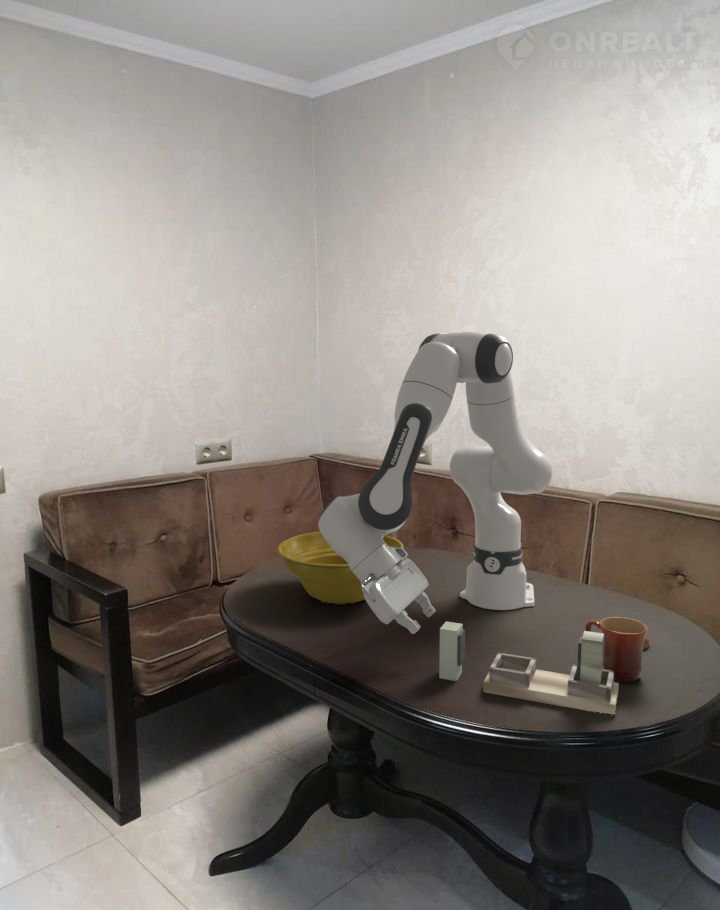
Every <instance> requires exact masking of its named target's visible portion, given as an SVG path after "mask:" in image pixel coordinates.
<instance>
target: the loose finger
mask: <svg viewBox="0 0 720 910" xmlns="http://www.w3.org/2000/svg"><path fill="white" fill-rule="evenodd" d="M463 626H464V624H463V623H458V622H453V621H445V622H444V623H443V624H442V626H440V628H439V667H438V669H439V671H438V673H439V675H438V676H439V679H442V680H446V681H447V680H448V681H453V682H457V681H458V680H459V678H460V676H461V675H462V673H463V662H464V661H465V659H466V658H465V657H466V655H465V654H466V653H465V652H466V629H464V628H463Z"/></svg>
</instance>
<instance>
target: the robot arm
mask: <svg viewBox="0 0 720 910" xmlns="http://www.w3.org/2000/svg"><path fill="white" fill-rule="evenodd" d="M513 361H514V352H513V349H512V346H511V344H510V343H509V342H508V340H507V338H505V337H504V336H502V335H498V334H495V333H480V332H474V331H462V332H448V333H443V332H437V333H433V334H431V335H428V336H426V337H425V338H424V339H423V340H422V342H421V343H420V345H419V347H418V350H417V352H416V354H415V355H414V357H413V358H412V360H411V362H410V365H409V366H408V368H407V370H406V373H405V375H404V377H403V380H402V382H401V385H400V387H399V390H398V393H397V397H396V403H395V409H394V428H393V433H392V435H391V439H390V441H389V444H388V447H387V449H386V452H385V454H384V457H383V459H382V461H381V464H380V467H379V469H378V471H377V472H375V474H374V475H373V476H372V477H371V478H370V479H369V480H368V481H366V483H365V485H364V486H363V487H362V489H361V490H360V492H359V493H356V494H353V495H346V496H337V497H335V498H333V499H331V501H330V502H329V503H328V504H327V505H326V506H325V507H324V508H323V511H321V513H320V515H319V518H318V529H319V532H321V533H322V535H323V537H324V538H325V539H326V541H327V542H328V544H329V545H330V546H331V547H332V549H333V550H334V551H335V552H336V553H337V554H338V555H339V556H340V557H341V558H343V559H344V560H345V561H346V562H347V563H348V565H349V567H350V570H351V571H352V572H353V573H354V574H355V576H356V577H357V578H358V579H359V580H360V582H361V587H362V591H363V593H364V598H365V599H364V600H365V601H366V604H367V605H368V607H369V608H370V609H371V610H372V612H373V613H374V614H375V616H376V617H377V618H378V620H379V621H380V622H381V623H383V624H385V625H389V624H390V623H391V622H393V620H395V621H396V622H397V624H398V625H400V626H402V627H404V628H405V629H407V630H408V631H409V632H410V634H412V635H414V634H416V633H417V632H418V631H419V630H420V629H421V624H419V622H418V621H417V620H416V619H414V620H413V619H412V618H411V617H409V614H408V613H407V611H405V610H406V608H408V606H409V605H410V604H411V603H412V602H413V601H414V602H416V603H417V604H419V606H420V607H421V608H422V613H423V614H424V615H425V616H426V618H430V617H432V615H434V614H435V613H436V609H435V607H434V606H433V605H432V603H431V602H430V599H429V597H428V595H427V594H426V592H425V590H426V589H427V588H428V587H429V581H428V578H426V576H425V575H424V574H423V572H422V571H421V569H419V567H418V566H417V565H416V564H415V563H414V562H413V560H412V559H411V558H408V556H409V554H408V552H407V551H406V550H405V549H403V548H394V547H389V546H388V545H387V544H386V543H385V542H384V540H383V537H384V536H386V535H387V536H389V535H390V534H392V533H394V532H396V531H399V530H400V529H401V528H402V527H403V526H404V524H405V523H406V522H407V519H408V517H409V516H410V513H411V511H412V507H413V496H412V488H411V483H412V478H413V474H414V472H415V469H416V468H417V467H416V466H417V463H418V460H419V457H420V455H421V452H422V449H423V447H424V445H425V443H426V442H427V440H428V438H429V437H430V436H431V435H432V434H433V433H435V432H437V431H438V429H440V428H441V427H440V426H441V425H442V423H443V421H444V420H445V417H446V416H447V415H448V412H449V410H450V406H451V404H452V401H453V398H454V394H455V392H456V388H457V383H459V384H464V383H465V396H466V403H467V404H466V405H467V409H468V410H467V411H468V417H469V424H470V428H471V430H472V433H474V434H475V436H477V437H478V438H479V439H481V440H483V441H484V442H486V443H487V444H488V445H489V446H487V445H472V446H471V445H470V446H464V447H459V448H457V449H456V450H455V452H453V454H452V457H451V458H450V461H449V474H450V477H451V479H452V480H453V482H454V483H455V484H456V485H457V486H458V487H459V488H460V489H461V490H462V491H463V492H464V494H465V495H466V497H467V499H468V500H469V502H470V505H471V508H472V512H473V516H474V526H475V527H474V529H475V531H474V532H475V540H474V541H475V543H474V544H473V550H472V554H473V555H472V557H473V558H472V559H473V561H472V562H471V563H470V564H469V565H468V566H467V568H466V582H465V583H466V584H465V589H464V590H462V591H460V593H459V597H460V598H462V599H465V600H467V602H468V603H470V604H471V605H473V606H476V607H478V608H482V609H487V610H493V611H494V610H496V611H509V610H516V609H520V608H530V607H535V591H534V585H533V584H532V583H530V582H527V571H526V567H525V565H524V563H523V556H524V555H523V547H522V542H521V539H522V538H521V536H522V535H521V533H522V531H521V530H522V520H521V517H520V514H519V513H518V511H516V510H515V509H514V508H513V507H511V506H510V505H509V504H507V502H506V501H505V500H504V498H503V497H502V493H506V494H512V495H513V494H515V495H532V494H533V495H534V494H541V493H543V492H544V491H545V490H546V489H547V488H548V487H549V486H550V483H551V482H552V477H553V468H552V467H553V466H552V463H551V461H550V459H549V458H548V456H547V455H546V454H545V453H543V452H542V451H540V450H539V449H538V448H537V447H535V445H534V444H532V442H531V441H530V440H529V439H528V438H527V435H526V434H525V433H524V431H523V430H522V427H521V424H520V421H519V417H518V411H517V407H516V406H517V405H516V400H515V399H516V398H515V390H514V384H513V383H514V382H513V379H512V377H513V376H512V373H511V369H512V367H513V363H514V362H513Z"/></svg>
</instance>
